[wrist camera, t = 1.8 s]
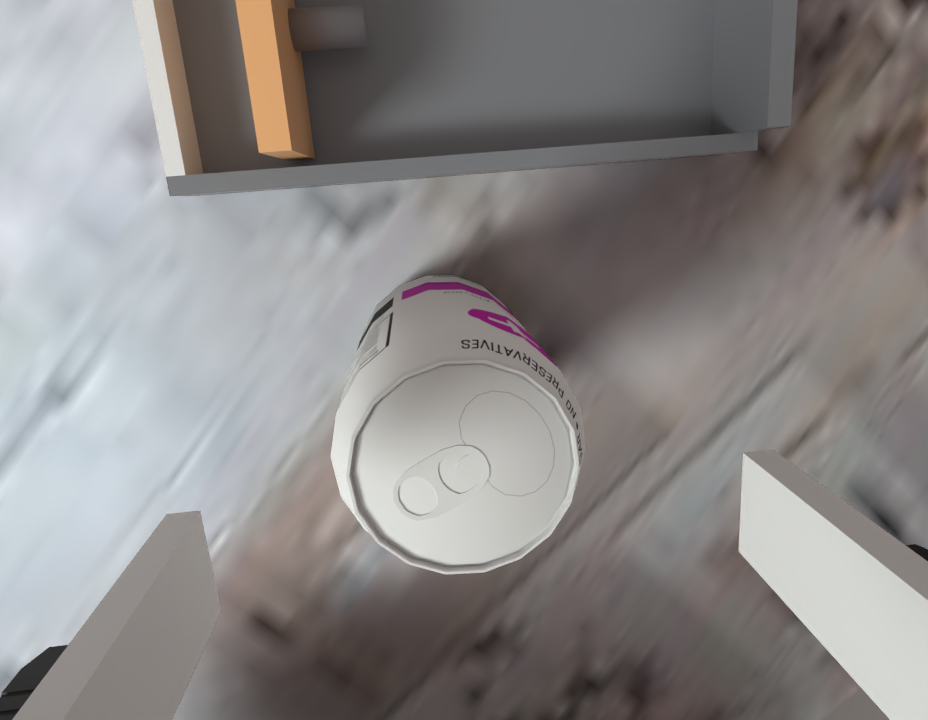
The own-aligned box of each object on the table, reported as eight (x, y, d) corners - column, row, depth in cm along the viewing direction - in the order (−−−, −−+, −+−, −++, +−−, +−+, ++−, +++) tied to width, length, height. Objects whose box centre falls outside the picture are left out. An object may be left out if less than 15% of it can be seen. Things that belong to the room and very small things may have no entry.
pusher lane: (720, 154, 32) (789, 146, 26) (196, 195, 30) (146, 196, 24) (728, -132, 29) (810, -214, 23) (142, -103, 27) (69, -183, 21)
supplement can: (467, 243, 32) (516, 284, 18) (543, 376, 34) (642, 510, 20) (331, 324, 32) (269, 429, 18) (415, 450, 35) (419, 635, 20)
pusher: (380, 153, 29) (373, 144, 23) (288, 160, 29) (258, 152, 23) (353, -95, 27) (338, -174, 21) (253, -89, 26) (209, -169, 21)
